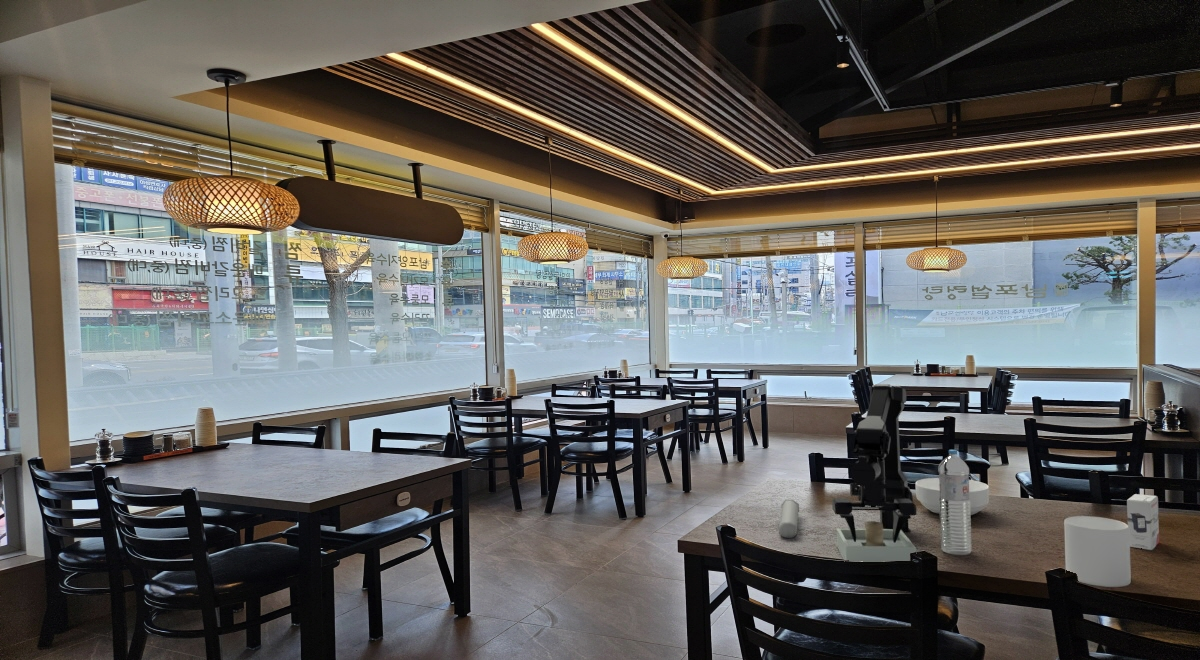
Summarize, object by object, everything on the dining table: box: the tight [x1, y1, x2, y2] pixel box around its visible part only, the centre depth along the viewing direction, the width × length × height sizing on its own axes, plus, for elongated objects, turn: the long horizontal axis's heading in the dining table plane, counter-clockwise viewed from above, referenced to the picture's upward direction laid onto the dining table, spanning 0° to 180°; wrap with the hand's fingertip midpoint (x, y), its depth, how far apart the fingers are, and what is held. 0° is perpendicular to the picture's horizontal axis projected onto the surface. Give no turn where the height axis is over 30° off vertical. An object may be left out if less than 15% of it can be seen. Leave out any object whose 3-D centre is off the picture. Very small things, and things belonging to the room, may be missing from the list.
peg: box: [864, 520, 883, 546], centre depth 179 cm, size 4×4×8 cm
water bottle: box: [937, 449, 972, 556], centre depth 181 cm, size 7×7×25 cm
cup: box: [1063, 515, 1132, 588], centre depth 160 cm, size 12×12×12 cm
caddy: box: [836, 528, 917, 562], centre depth 179 cm, size 16×16×4 cm
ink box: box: [1126, 493, 1160, 551], centre depth 182 cm, size 8×5×12 cm, turn 133°
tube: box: [778, 498, 800, 539], centre depth 208 cm, size 5×5×25 cm
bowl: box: [915, 477, 990, 516], centre depth 217 cm, size 20×20×8 cm
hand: (874, 541), depth 179 cm, fingers open, 9 cm apart
